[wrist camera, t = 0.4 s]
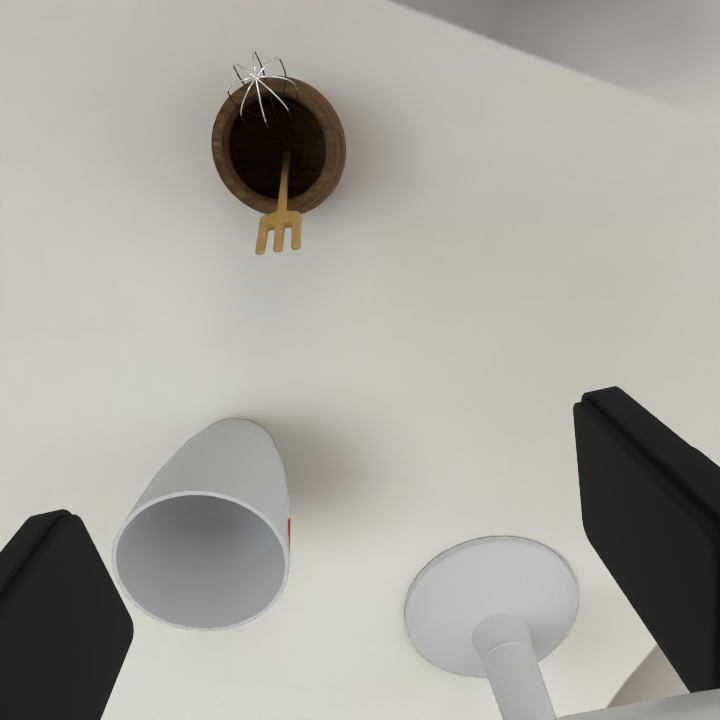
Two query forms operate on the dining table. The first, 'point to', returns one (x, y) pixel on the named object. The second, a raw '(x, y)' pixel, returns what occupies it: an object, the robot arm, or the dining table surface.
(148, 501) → the cup
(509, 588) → the candlestick
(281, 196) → the utensil holder
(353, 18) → the dining table surface
